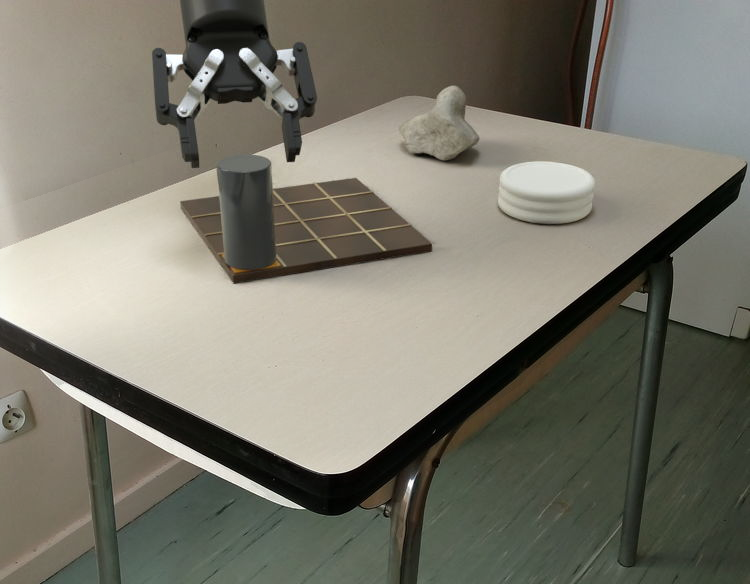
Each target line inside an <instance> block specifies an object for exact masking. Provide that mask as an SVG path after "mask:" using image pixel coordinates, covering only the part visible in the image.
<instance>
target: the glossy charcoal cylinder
mask: <svg viewBox="0 0 750 584" xmlns="http://www.w3.org/2000/svg"><path fill="white" fill-rule="evenodd" d="M215 165H216V177H217V188H218V196H219V201H220V212H221V224H222V235H223V247H224V258H225V262H226V264H227V265H228V266H230V267H233V268H236V269H241V270H256V269H262V268H265V267H268V266H270V265H272V264H273V263H274V262H275V261H276V241H275V222H274V204H273V189H274V188H273V186H274V185H273V170H272V169H273V168H272V167H273V166H272V161H271V160H270V159H269V158H267V157H266V156H262V155H257V154H249V153H246V154H245V153H244V154H242V153H241V154H233V155H229V156H226V157H222V158H221V159H218V161H216V163H215Z"/></svg>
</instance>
